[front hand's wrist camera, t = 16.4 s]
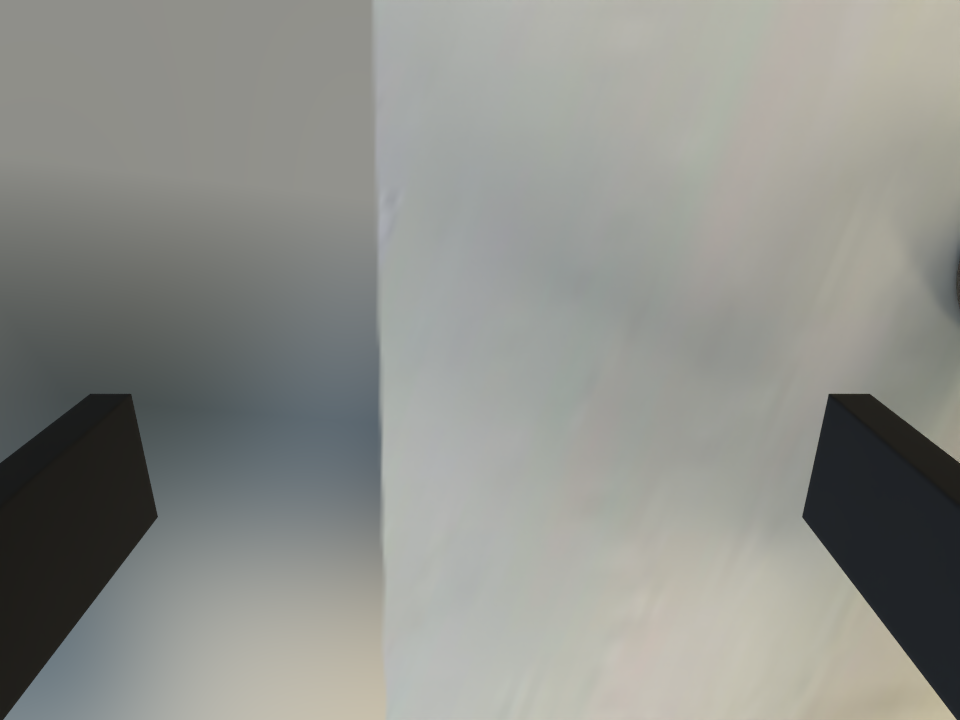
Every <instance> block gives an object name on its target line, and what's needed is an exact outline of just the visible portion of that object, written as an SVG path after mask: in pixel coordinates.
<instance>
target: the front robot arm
mask: <svg viewBox="0 0 960 720" xmlns="http://www.w3.org/2000/svg"><path fill="white" fill-rule="evenodd" d="M957 295H958V302H959V307H960V261H959V266H958V274H957ZM157 517H158V516H157V511H156V507H155V502H154V498H153V493H152V488H151V484H150V479H149V474H148V470H147V465H146V461H145V456H144V451H143V447H142V442H141V437H140V433H139V428H138V424H137V419H136V415H135V410H134V405H133V401H132V396H131V394H90V395H88V396H87V397H86V398H84V399H83V400H82V401H81V402H79V403H78V404H77V405H75V406H74V407H73V408H71V409H70V410H69V411H68V412H66V413H65V414H64V415H62V416H61V417H60V418H58V419H57V420H56V421H55V422H53V423H52V424H51V425H49V426H48V427H47V428H45V429H44V430H43V431H42V432H40V433H39V434H38V435H36V436H35V437H34V438H32V439H31V440H30V441H29V442H27V443H26V444H25V445H23V446H22V447H21V448H19V449H18V450H17V451H16V452H14V453H13V454H12V455H10V456H9V457H8V458H6V459H5V460H4V461H3V462H1V463H0V720H3V719H4V718H5V717H6V715H7V714H8V713H9V711H10V710H11V709H12V707H13V706H14V705H15V703H16V702H17V701H18V700H19V698H20V697H21V696H22V694H23V693H24V692H25V690H26V689H27V688H28V686H29V685H30V684H31V683H32V681H33V680H34V679H35V677H36V676H37V675H38V673H39V672H40V671H41V669H42V668H43V667H44V665H45V664H46V663H47V661H48V660H49V659H50V658H51V656H52V655H53V654H54V652H55V651H56V650H57V648H58V647H59V646H60V644H61V643H62V642H63V641H64V639H65V638H66V637H67V635H68V634H69V633H70V631H71V630H72V629H73V627H74V626H75V625H76V624H77V622H78V621H79V620H80V618H81V617H82V616H83V614H84V613H85V612H86V610H87V609H88V608H89V606H90V605H91V604H92V603H93V601H94V600H95V599H96V597H97V596H98V595H99V593H100V592H101V591H102V589H103V588H104V587H105V585H106V584H107V583H108V581H109V580H110V579H111V578H112V576H113V575H114V574H115V572H116V571H117V570H118V568H119V567H120V566H121V564H122V563H123V562H124V561H125V559H126V558H127V557H128V555H129V554H130V553H131V551H132V550H133V549H134V547H135V546H136V545H137V543H138V542H139V541H140V540H141V538H142V537H143V536H144V534H145V533H146V532H147V530H148V529H149V528H150V526H151V525H152V524H153V522H154V521H155V520H156V519H157ZM802 517H803V519H804V520H805V521H806V523H807V524H808V525H809V526H810V528H811V529H812V530H813V532H814V533H815V534H816V536H817V537H818V538H819V540H820V541H821V542H822V544H823V545H824V546H825V547H826V549H827V550H828V551H829V553H830V554H831V555H832V557H833V558H834V559H835V561H836V562H837V563H838V565H839V566H840V567H841V568H842V570H843V571H844V572H845V574H846V575H847V576H848V578H849V579H850V580H851V582H852V583H853V584H854V585H855V587H856V588H857V589H858V591H859V592H860V593H861V595H862V596H863V597H864V599H865V600H866V601H867V603H868V604H869V605H870V606H871V608H872V609H873V610H874V612H875V613H876V614H877V616H878V617H879V618H880V620H881V621H882V622H883V624H884V625H885V626H886V627H887V629H888V630H889V631H890V633H891V634H892V635H893V637H894V638H895V639H896V641H897V642H898V643H899V645H900V646H901V647H902V648H903V650H904V651H905V652H906V654H907V655H908V656H909V658H910V659H911V660H912V662H913V663H914V664H915V665H916V667H917V668H918V669H919V671H920V672H921V673H922V675H923V676H924V677H925V679H926V680H927V681H928V683H929V684H930V685H931V686H932V688H933V689H934V690H935V692H936V693H937V694H938V696H939V697H940V698H941V700H942V701H943V702H944V704H945V705H946V706H947V707H948V709H949V710H950V711H951V713H952V714H953V715H954V717H955V718H956V719H957V720H960V463H959V462H957V461H956V460H955V459H954V458H952V457H951V456H950V455H948V454H947V453H946V452H944V451H943V450H942V449H941V448H939V447H938V446H937V445H935V444H934V443H933V442H931V441H930V440H929V439H928V438H926V437H925V436H924V435H922V434H921V433H920V432H918V431H917V430H916V429H915V428H913V427H912V426H911V425H909V424H908V423H907V422H905V421H904V420H903V419H902V418H900V417H899V416H898V415H896V414H895V413H894V412H892V411H891V410H890V409H889V408H887V407H886V406H885V405H883V404H882V403H881V402H879V401H878V400H877V399H876V398H874V397H873V396H872V395H870V394H829V396H828V401H827V405H826V410H825V414H824V419H823V424H822V428H821V433H820V437H819V442H818V447H817V451H816V456H815V461H814V465H813V470H812V474H811V479H810V484H809V488H808V493H807V497H806V502H805V507H804V511H803V516H802Z"/></svg>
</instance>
